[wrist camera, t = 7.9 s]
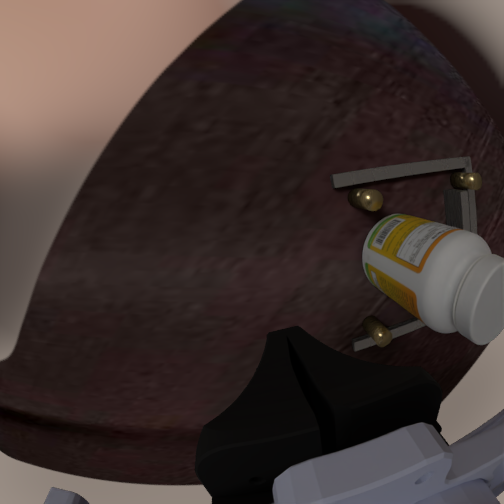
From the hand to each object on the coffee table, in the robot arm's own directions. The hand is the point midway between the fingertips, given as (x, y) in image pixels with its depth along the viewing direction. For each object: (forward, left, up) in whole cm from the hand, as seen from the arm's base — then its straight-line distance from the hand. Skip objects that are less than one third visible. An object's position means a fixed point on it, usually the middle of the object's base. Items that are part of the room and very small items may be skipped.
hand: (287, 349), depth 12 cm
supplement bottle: (+1, -9, -7) cm, 12 cm away
